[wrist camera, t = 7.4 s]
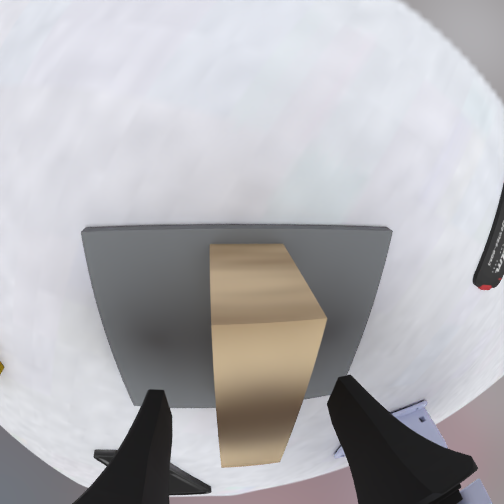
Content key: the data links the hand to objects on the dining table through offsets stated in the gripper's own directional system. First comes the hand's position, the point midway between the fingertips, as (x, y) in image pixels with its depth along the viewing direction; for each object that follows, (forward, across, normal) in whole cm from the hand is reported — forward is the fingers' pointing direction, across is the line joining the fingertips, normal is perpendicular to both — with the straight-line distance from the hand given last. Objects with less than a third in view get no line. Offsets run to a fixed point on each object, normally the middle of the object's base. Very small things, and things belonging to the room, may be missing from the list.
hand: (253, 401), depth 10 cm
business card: (+5, -20, -6) cm, 21 cm away
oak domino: (+4, 0, 0) cm, 4 cm away
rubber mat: (+4, 0, 0) cm, 4 cm away
